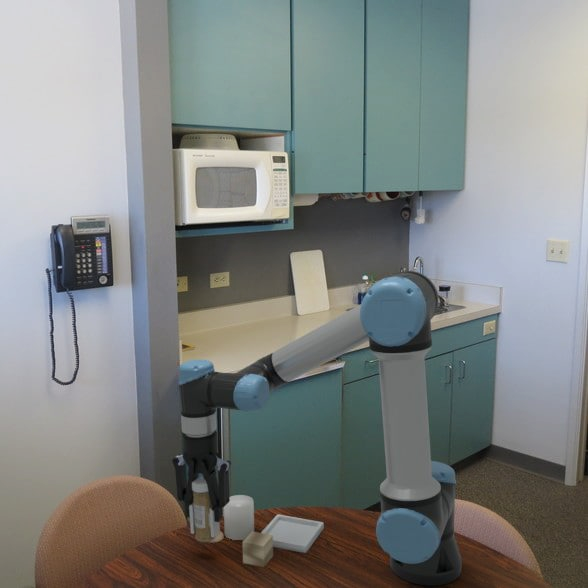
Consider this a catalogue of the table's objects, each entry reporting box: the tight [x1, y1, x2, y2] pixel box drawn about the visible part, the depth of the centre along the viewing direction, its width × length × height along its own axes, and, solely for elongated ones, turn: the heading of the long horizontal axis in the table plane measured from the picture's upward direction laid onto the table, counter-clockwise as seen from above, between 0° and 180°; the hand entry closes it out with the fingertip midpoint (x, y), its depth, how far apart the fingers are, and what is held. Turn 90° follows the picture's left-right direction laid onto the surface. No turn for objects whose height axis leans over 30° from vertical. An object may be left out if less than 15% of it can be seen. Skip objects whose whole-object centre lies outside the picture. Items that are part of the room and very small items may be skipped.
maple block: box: [242, 531, 274, 568], centre depth 152 cm, size 5×5×5 cm
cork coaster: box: [206, 530, 225, 544], centre depth 162 cm, size 5×5×1 cm
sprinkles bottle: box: [192, 476, 215, 543], centre depth 152 cm, size 5×5×14 cm
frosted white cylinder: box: [223, 494, 255, 541], centre depth 164 cm, size 8×7×8 cm
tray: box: [260, 513, 325, 554], centre depth 162 cm, size 12×12×2 cm
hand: (205, 532), depth 153 cm, fingers closed on sprinkles bottle, 4 cm apart
